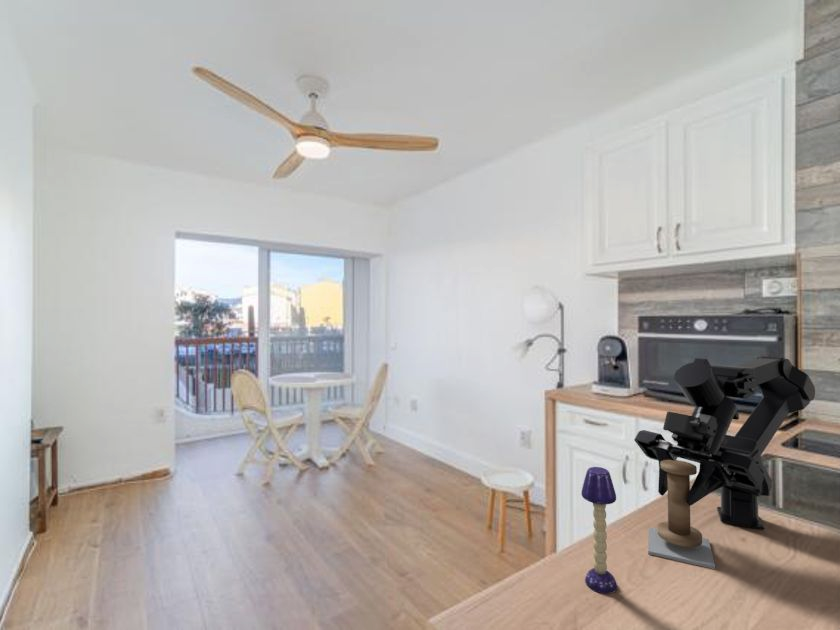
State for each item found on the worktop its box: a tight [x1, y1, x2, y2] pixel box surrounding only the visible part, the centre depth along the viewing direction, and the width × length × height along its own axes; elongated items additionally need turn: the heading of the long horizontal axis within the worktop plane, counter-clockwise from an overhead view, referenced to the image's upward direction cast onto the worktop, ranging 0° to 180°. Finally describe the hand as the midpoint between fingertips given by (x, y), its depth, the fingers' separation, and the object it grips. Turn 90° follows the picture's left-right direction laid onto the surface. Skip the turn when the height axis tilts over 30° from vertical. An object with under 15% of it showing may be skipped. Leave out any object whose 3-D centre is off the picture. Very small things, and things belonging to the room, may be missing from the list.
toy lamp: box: [581, 466, 618, 594], centre depth 62 cm, size 5×5×17 cm
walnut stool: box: [656, 459, 703, 547], centre depth 72 cm, size 6×6×12 cm
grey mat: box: [647, 527, 716, 570], centre depth 72 cm, size 9×9×1 cm
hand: (673, 498), depth 71 cm, fingers closed on walnut stool, 4 cm apart
